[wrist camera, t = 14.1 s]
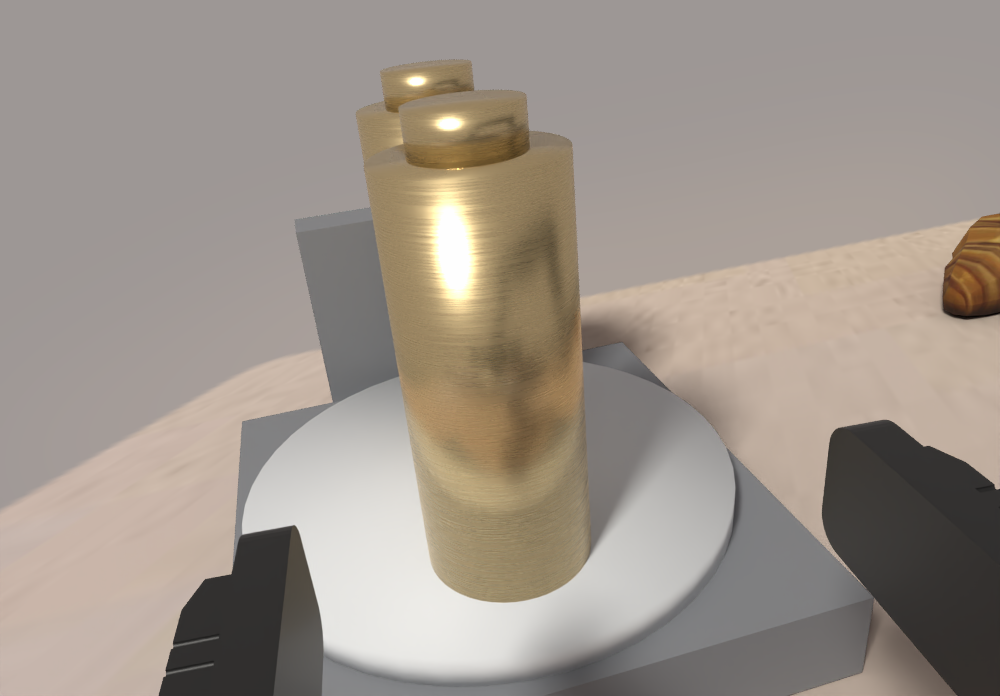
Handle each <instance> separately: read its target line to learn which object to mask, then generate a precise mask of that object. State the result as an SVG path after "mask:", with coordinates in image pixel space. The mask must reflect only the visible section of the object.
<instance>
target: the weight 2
mask: <svg viewBox="0 0 1000 696" xmlns="http://www.w3.org/2000/svg"><path fill="white" fill-rule="evenodd" d="M398 110H399V117H400V124H401V131H402V138H403V144H401V145H398V146H395V147H391V148H389V149H386V150H383V151H381V152H379V153H376V154H375V155H373V156H371V157H370V158H369V159H367V160H366V162H365V163H364V171H365V177H366V183H367V189H368V195H369V201H370V207H371V213H372V219H373V225H374V231H375V236H376V242H377V248H378V254H379V260H380V266H381V272H382V278H383V284H384V290H385V296H386V302H387V308H388V314H389V320H390V326H391V331H392V337H393V343H394V349H395V355H396V361H397V367H398V373H399V379H400V385H401V391H402V397H403V403H404V409H405V415H406V421H407V426H408V432H409V438H410V444H411V450H412V456H413V462H414V468H415V474H416V480H417V486H418V492H419V498H420V504H421V510H422V516H423V522H424V527H425V533H426V539H427V545H428V551H429V557H430V561H431V565H432V567H433V570H434V572H435V573H436V575H437V576H438V577H439V579H440V580H441V581H442V582H443V583H444V584H445V585H447V586H448V587H449V588H451V589H452V590H454V591H456V592H458V593H460V594H462V595H464V596H467V597H469V598H473V599H477V600H480V601H487V602H498V603H508V602H519V601H526V600H530V599H534V598H538V597H541V596H543V595H546V594H549V593H551V592H553V591H555V590H557V589H559V588H560V587H562V586H564V585H565V584H567V583H568V582H569V581H570V580H572V579H573V578H574V577H575V576H576V575H577V574H578V573H579V572H580V571H581V569H582V568H583V566H584V565H585V563H586V561H587V559H588V557H589V554H590V550H591V524H590V503H589V482H588V461H587V440H586V419H585V399H584V378H583V357H582V336H581V315H580V294H579V275H578V253H577V232H576V211H575V190H574V169H573V148H572V142H571V141H570V140H569V139H567V138H565V137H563V136H560V135H556V134H552V133H545V132H537V131H529V126H528V111H527V98H526V94H525V93H523V92H519V91H512V90H478V91H465V92H455V93H447V94H441V95H435V96H429V97H424V98H420V99H416V100H412V101H409V102H407V103H404V104H402V105H400V106H399V107H398Z"/></svg>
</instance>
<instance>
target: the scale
mask: <svg viewBox="0 0 1000 696" xmlns="http://www.w3.org/2000/svg"><path fill="white" fill-rule="evenodd" d="M295 228H296V234H297V240H298V244H299V249H300V253H301V258H302V262H303V267H304V271H305V276H306V281H307V285H308V290H309V294H310V299H311V304H312V308H313V313H314V317H315V322H316V326H317V331H318V336H319V340H320V345H321V349H322V354H323V359H324V363H325V368H326V372H327V377H328V381H329V386H330V391H331V395H332V400H333V403H328V404H324V405H319V406H314V407H309V408H304V409H300V410H295V411H290V412H285V413H280V414H276V415H271V416H266V417H261V418H257V419H252V420H247V421H242V432H241V448H240V463H239V479H238V494H237V510H236V525H235V541H234V556H233V565H234V560H235V555H236V550H237V545H238V541H239V538H240V536H241V535H243V534H248V533H253V532H259V531H264V530H270V529H276V528H281V527H287V526H292V525H295V526H296V527H297V529H298V531H299V533H300V537H301V540H302V544H303V548H304V552H305V556H306V560H307V563H308V567H309V571H310V575H311V579H312V583H313V586H314V590H315V594H316V598H317V602H318V606H319V610H320V616H321V622H322V631H323V646H324V653H323V679H322V696H789V695H792V694H796V693H799V692H802V691H805V690H808V689H811V688H814V687H818V686H821V685H824V684H827V683H830V682H833V681H836V680H840V679H843V678H846V677H849V676H852V675H855V674H859V673H862V670H863V664H864V658H865V652H866V646H867V639H868V633H869V627H870V621H871V615H872V608H873V602H874V597H873V596H872V595H871V594H870V593H869V592H868V591H867V590H866V589H865V588H864V587H863V586H862V585H861V584H860V582H859V581H858V580H857V579H856V578H855V577H854V576H853V575H852V574H851V573H850V572H849V571H848V570H847V569H846V568H845V567H844V566H843V565H842V564H841V563H840V562H839V561H838V560H837V559H836V558H835V557H834V556H833V555H832V554H831V553H830V552H829V551H828V550H827V549H826V548H825V547H824V546H823V545H822V544H821V543H820V542H819V541H818V540H817V539H816V538H815V537H814V536H813V535H812V534H811V533H810V532H809V531H808V530H807V529H806V528H805V527H804V526H803V525H802V524H801V523H800V522H799V521H798V520H797V519H796V518H795V517H794V516H793V515H792V514H791V513H790V512H789V511H788V510H787V509H786V508H785V507H784V506H783V505H782V504H781V503H780V502H779V501H778V499H777V498H776V497H775V496H774V495H773V494H772V493H771V492H770V491H769V490H768V489H767V488H766V487H765V486H764V485H763V484H762V483H761V482H760V481H759V480H758V479H757V478H756V477H755V476H754V475H753V474H752V473H751V472H750V471H749V470H748V469H747V468H746V467H745V466H744V465H743V464H742V463H741V462H740V461H739V460H738V459H737V458H736V457H735V456H734V455H733V454H732V453H731V452H730V451H729V450H728V449H727V448H726V447H725V445H724V443H723V442H722V440H721V438H720V437H719V435H718V433H717V432H716V431H715V429H714V428H713V427H712V426H711V425H710V424H709V422H708V421H707V420H706V419H705V418H704V417H703V416H702V415H701V414H700V413H699V412H698V411H696V410H695V409H694V408H693V407H692V406H691V405H689V404H688V403H687V402H685V401H684V400H682V399H681V398H679V397H678V396H676V395H675V394H673V393H672V392H671V391H670V390H669V389H668V388H667V387H666V386H665V385H664V384H663V383H662V382H661V381H660V380H659V379H658V378H657V377H656V376H655V375H654V374H653V373H652V372H651V371H650V370H649V369H648V368H647V367H646V366H645V365H644V364H643V363H642V362H641V361H640V360H639V359H638V358H637V357H636V356H635V355H634V354H633V353H632V352H631V351H630V350H629V349H628V348H627V347H626V346H625V345H624V344H623V343H622V342H620V343H616V344H611V345H606V346H601V347H596V348H592V349H587V350H582V357H583V378H584V399H585V419H586V440H587V461H588V482H589V503H590V524H591V550H590V554H589V557H588V559H587V561H586V563H585V565H584V566H583V568H582V569H581V571H580V572H579V573H578V574H577V575H576V576H575V577H574V578H573V579H572V580H570V581H569V582H568V583H567V584H565V585H564V586H562V587H560V588H559V589H557V590H555V591H553V592H551V593H549V594H546V595H543V596H541V597H538V598H534V599H530V600H526V601H519V602H508V603H498V602H487V601H480V600H477V599H473V598H469V597H467V596H464V595H462V594H460V593H458V592H456V591H454V590H452V589H451V588H449V587H448V586H447V585H445V584H444V583H443V582H442V581H441V580H440V579H439V577H438V576H437V575H436V573H435V572H434V570H433V567H432V565H431V561H430V557H429V551H428V545H427V539H426V533H425V527H424V522H423V516H422V510H421V504H420V498H419V492H418V486H417V480H416V474H415V468H414V462H413V456H412V450H411V444H410V438H409V432H408V426H407V421H406V415H405V409H404V403H403V397H402V391H401V385H400V379H399V373H398V367H397V361H396V355H395V349H394V343H393V337H392V331H391V326H390V320H389V314H388V308H387V302H386V296H385V290H384V284H383V278H382V272H381V266H380V260H379V254H378V248H377V242H376V236H375V231H374V225H373V219H372V213H371V207H370V208H364V209H358V210H352V211H346V212H339V213H333V214H328V215H321V216H315V217H308V218H303V219H296V220H295Z"/></svg>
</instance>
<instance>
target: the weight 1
mask: <svg viewBox="0 0 1000 696" xmlns="http://www.w3.org/2000/svg"><path fill="white" fill-rule="evenodd" d="M380 75H381V82H382V87H383V95H384V101H383V102H379V103H375V104H372V105H369V106H366V107H363V108H361V109H359V110H358V111H357V112H356V119H357V124H358V130H359V136H360V142H361V147H362V154H363V159H364V163H365V162H366V160H367V159H369V158H370V157H371V156H373V155H375V154H376V153H379V152H381V151H383V150H386V149H389V148H391V147H395V146H398V145H401V144H403V138H402V131H401V124H400V117H399V110H398V107H399V106H400V105H402V104H404V103H407V102H409V101H412V100H416V99H420V98H424V97H429V96H435V95H441V94H447V93H455V92H465V91H474V83H473V73H472V63H471V61H469V60H437V61H427V62H418V63H411V64H404V65H399V66H394V67H390V68H386V69H383V70H381V71H380Z"/></svg>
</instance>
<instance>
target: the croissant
mask: <svg viewBox="0 0 1000 696" xmlns="http://www.w3.org/2000/svg"><path fill="white" fill-rule="evenodd" d="M952 256H953V259H952V260H951V261H950V262H949V264H948V265H947V266H946V267H945V273H944V284H943V304H944V309H945V310H946V311H948V312H950V313H952V314H954V315H963V316H973V315H988V314H993V313H997V312H1000V214H994V215H989V216H984V217H981V218H980V219H979V220H978V221H977V222H976V223H975V224H973V225H972V226H971V227H970V228H969V230H968V231H967V233H966V234H965V236H964V237H963V239H962V240H961V241H960V243H959V244H958V246H957V247H956V249H955V250H954V252H953V253H952Z"/></svg>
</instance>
